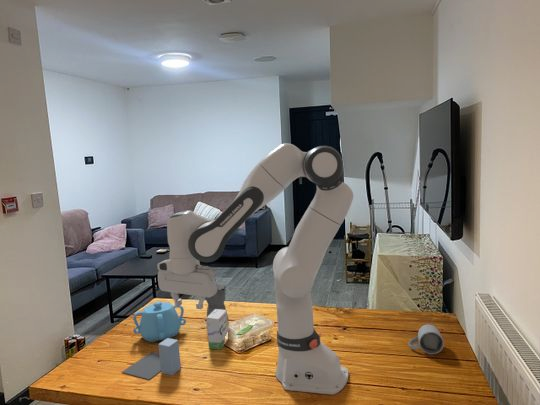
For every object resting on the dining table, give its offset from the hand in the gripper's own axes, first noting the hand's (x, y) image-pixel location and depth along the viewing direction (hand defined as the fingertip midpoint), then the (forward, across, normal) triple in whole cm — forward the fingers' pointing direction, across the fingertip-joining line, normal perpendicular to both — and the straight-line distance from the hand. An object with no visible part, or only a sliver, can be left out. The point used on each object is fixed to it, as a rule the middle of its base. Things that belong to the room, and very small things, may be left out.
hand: (189, 306), depth 128 cm
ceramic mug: (+23, -64, -42) cm, 80 cm away
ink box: (+24, +5, -21) cm, 32 cm away
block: (+23, +10, 0) cm, 25 cm away
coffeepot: (+24, +18, -38) cm, 48 cm away
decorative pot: (+24, +31, -19) cm, 43 cm away
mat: (+23, +19, 0) cm, 30 cm away
